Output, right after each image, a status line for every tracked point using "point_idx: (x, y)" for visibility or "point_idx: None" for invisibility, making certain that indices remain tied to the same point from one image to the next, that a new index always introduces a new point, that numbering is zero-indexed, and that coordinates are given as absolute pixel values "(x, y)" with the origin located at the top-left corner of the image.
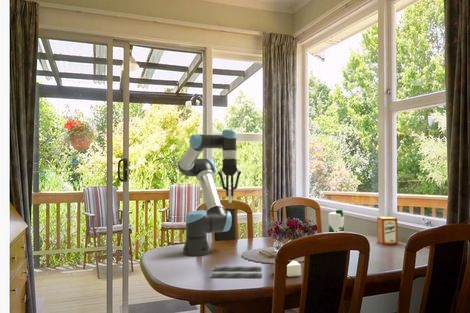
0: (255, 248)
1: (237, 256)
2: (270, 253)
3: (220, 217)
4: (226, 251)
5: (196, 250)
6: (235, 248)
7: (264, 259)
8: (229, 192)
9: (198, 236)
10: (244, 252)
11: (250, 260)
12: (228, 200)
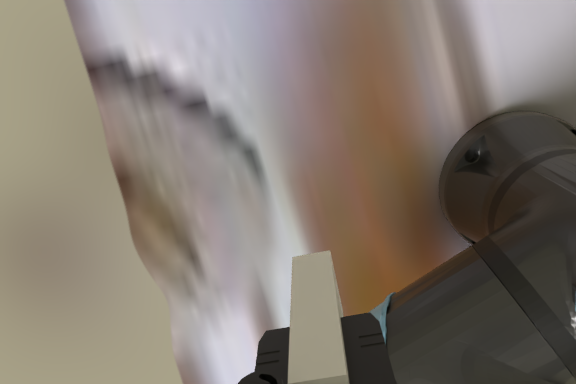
0: (235, 316)
1: (279, 158)
2: (139, 244)
3: (436, 334)
4: (359, 239)
5: (508, 124)
6: None
7: (133, 132)
8: (319, 348)
9: (538, 165)
10: (266, 237)
11: (193, 98)
12: (330, 266)
